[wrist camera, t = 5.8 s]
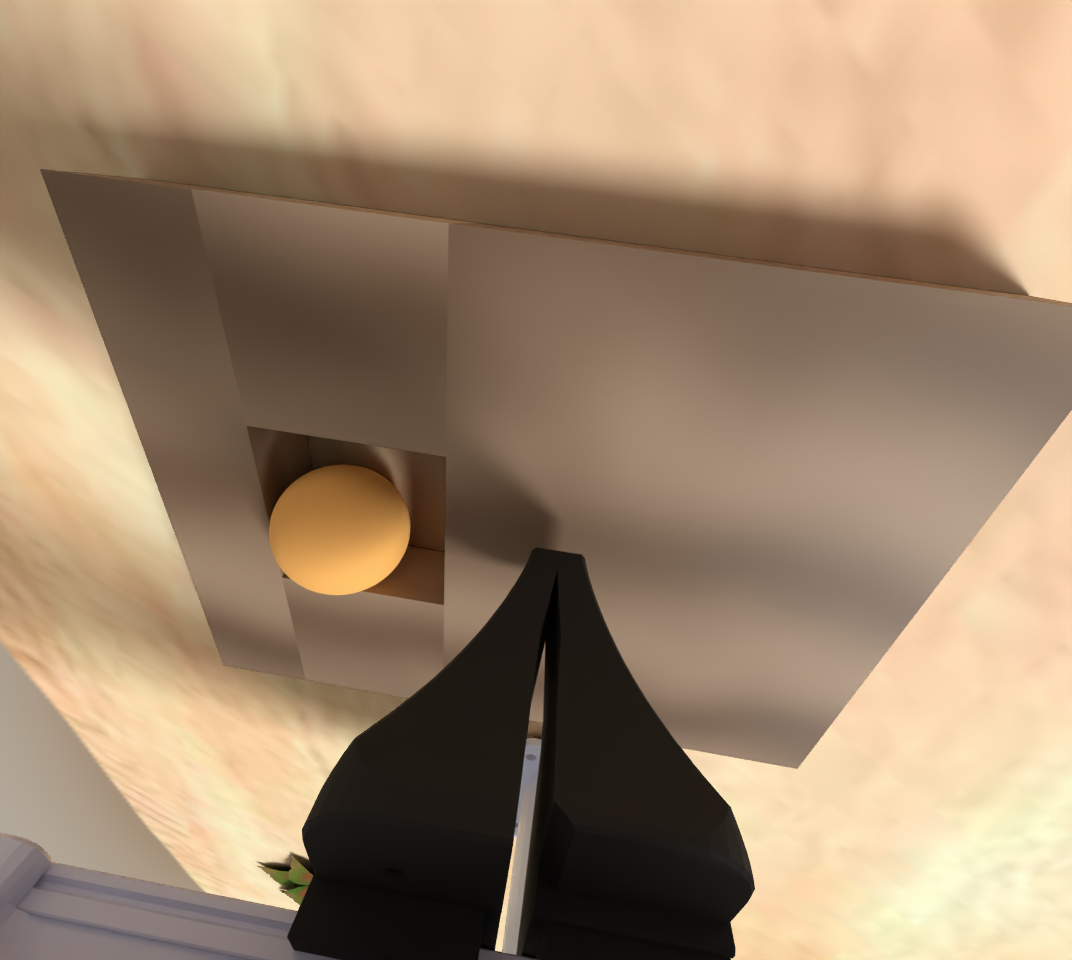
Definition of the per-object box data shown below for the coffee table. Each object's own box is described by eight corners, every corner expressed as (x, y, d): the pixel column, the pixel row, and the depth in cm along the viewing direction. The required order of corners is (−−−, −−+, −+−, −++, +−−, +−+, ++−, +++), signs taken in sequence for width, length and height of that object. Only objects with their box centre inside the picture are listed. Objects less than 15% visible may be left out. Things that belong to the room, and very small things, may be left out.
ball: (431, 521, 17) (402, 623, 14) (325, 513, 17) (276, 613, 14) (412, 441, 14) (370, 550, 11) (285, 433, 14) (212, 538, 11)
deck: (774, 705, 19) (797, 768, 17) (264, 616, 20) (223, 665, 18) (1032, 296, 11) (1143, 315, 8) (144, 178, 12) (40, 169, 9)
